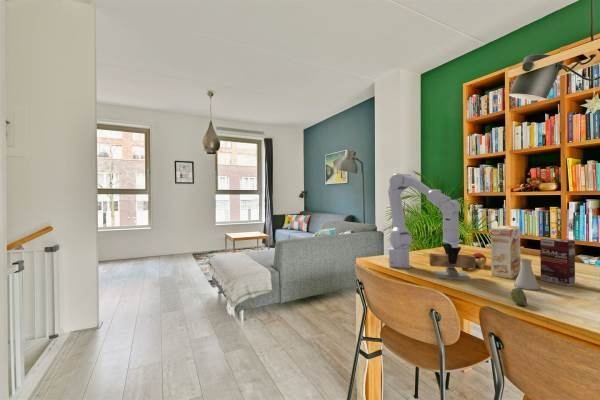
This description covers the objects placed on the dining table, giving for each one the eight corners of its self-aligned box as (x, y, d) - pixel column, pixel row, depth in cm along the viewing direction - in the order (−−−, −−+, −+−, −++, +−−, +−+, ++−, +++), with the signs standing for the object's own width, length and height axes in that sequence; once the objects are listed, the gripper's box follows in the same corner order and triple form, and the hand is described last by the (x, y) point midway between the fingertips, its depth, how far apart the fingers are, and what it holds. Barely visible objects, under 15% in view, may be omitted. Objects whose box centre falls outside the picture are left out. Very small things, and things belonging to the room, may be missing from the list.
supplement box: (539, 280, 105) (539, 238, 105) (547, 278, 107) (546, 237, 107) (569, 286, 97) (568, 241, 97) (576, 284, 99) (575, 240, 99)
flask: (542, 291, 93) (541, 262, 93) (515, 288, 96) (514, 260, 96) (537, 285, 99) (537, 258, 99) (512, 283, 103) (511, 256, 103)
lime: (524, 302, 84) (524, 285, 84) (533, 308, 79) (533, 291, 79) (507, 301, 85) (507, 285, 85) (515, 307, 81) (515, 290, 81)
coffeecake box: (511, 279, 107) (510, 229, 107) (490, 275, 113) (489, 228, 113) (521, 272, 117) (520, 226, 117) (501, 269, 122) (500, 225, 122)
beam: (430, 266, 114) (430, 255, 114) (429, 263, 117) (429, 253, 117) (475, 268, 109) (475, 257, 109) (472, 265, 112) (472, 255, 112)
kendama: (477, 276, 117) (492, 263, 128) (473, 261, 117) (488, 250, 128) (458, 275, 123) (474, 263, 134) (454, 261, 123) (470, 251, 134)
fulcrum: (437, 278, 111) (437, 270, 111) (434, 272, 119) (433, 264, 119) (471, 280, 107) (471, 272, 107) (465, 274, 115) (465, 266, 115)
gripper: (466, 231, 105) (467, 267, 105) (457, 227, 119) (458, 259, 119) (445, 231, 107) (446, 266, 107) (439, 227, 121) (440, 258, 121)
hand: (451, 262), depth 113 cm, fingers closed on beam, 4 cm apart
